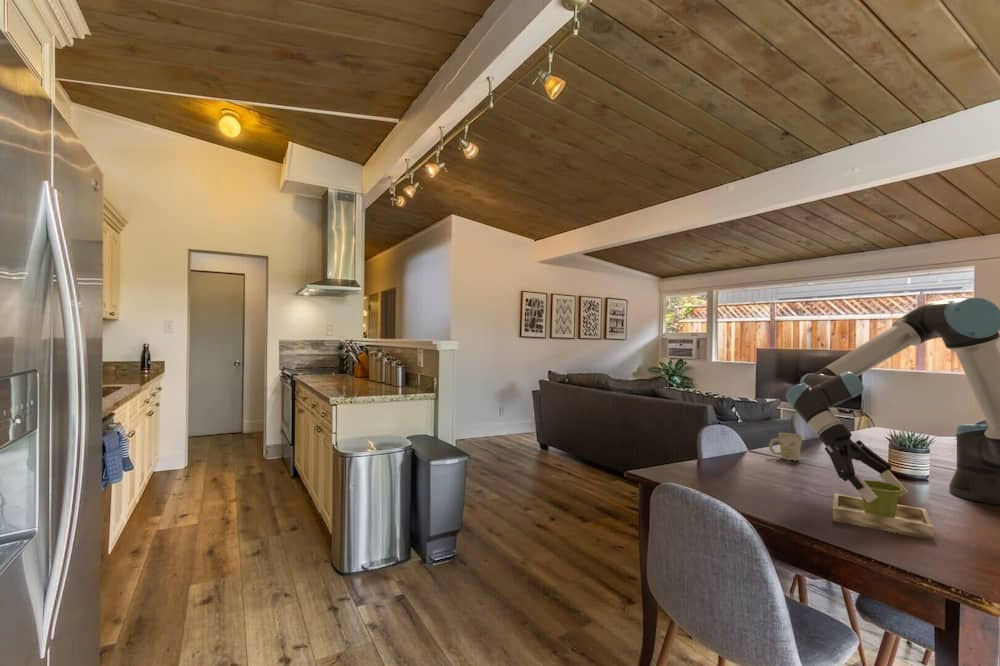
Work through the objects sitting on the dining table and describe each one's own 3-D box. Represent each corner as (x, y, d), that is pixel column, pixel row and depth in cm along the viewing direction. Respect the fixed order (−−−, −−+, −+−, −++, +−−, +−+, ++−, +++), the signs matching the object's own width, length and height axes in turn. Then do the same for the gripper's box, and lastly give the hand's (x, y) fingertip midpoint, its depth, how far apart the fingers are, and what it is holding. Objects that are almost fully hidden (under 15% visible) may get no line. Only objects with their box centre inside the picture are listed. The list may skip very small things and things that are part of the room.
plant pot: (890, 526, 119) (890, 492, 120) (849, 513, 128) (850, 482, 128) (909, 521, 123) (910, 488, 123) (869, 509, 132) (869, 478, 132)
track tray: (925, 522, 125) (925, 509, 125) (933, 541, 113) (933, 526, 113) (834, 505, 137) (834, 493, 138) (832, 520, 126) (832, 507, 126)
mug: (806, 461, 188) (806, 437, 188) (775, 461, 188) (775, 436, 188) (794, 456, 196) (794, 433, 196) (764, 456, 196) (764, 432, 197)
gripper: (846, 434, 145) (903, 498, 131) (792, 440, 135) (848, 509, 121) (865, 420, 140) (927, 484, 126) (811, 425, 130) (871, 495, 116)
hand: (888, 497), depth 124 cm, fingers open, 13 cm apart
